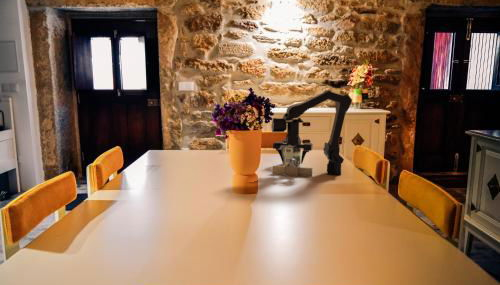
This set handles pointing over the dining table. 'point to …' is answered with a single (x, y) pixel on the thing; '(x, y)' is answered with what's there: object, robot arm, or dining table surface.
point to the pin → (292, 162)
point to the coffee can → (291, 154)
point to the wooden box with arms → (292, 170)
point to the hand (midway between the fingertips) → (292, 163)
